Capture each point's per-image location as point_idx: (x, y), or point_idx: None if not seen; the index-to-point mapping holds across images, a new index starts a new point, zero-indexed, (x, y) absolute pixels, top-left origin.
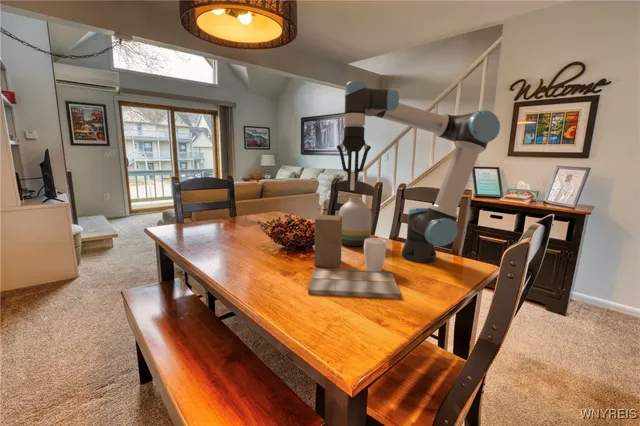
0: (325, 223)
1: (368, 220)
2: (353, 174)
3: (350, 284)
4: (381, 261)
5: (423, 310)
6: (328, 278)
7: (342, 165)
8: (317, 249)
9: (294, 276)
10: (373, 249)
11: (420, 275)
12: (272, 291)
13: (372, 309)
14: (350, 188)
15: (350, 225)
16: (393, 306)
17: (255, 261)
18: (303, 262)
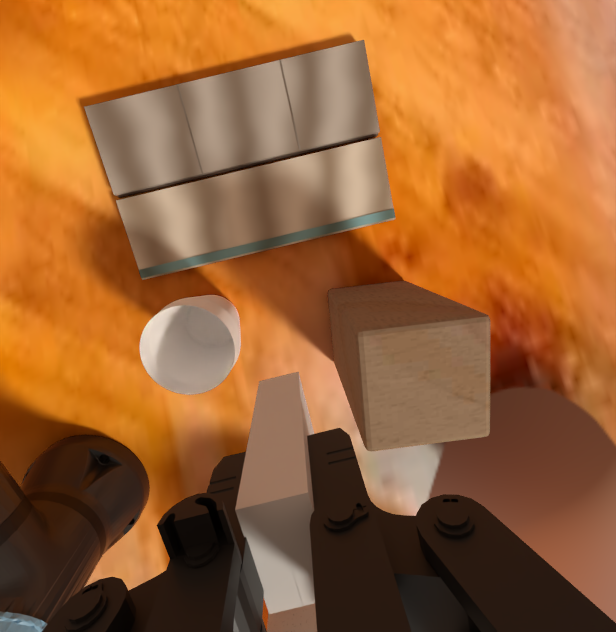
0: (424, 317)
1: (274, 621)
2: (261, 486)
3: (246, 127)
4: (175, 310)
5: (13, 50)
6: (326, 152)
7: (572, 593)
8: (415, 289)
9: (441, 168)
10: (190, 299)
11: (61, 319)
12: (470, 26)
13: (153, 5)
14: (298, 380)
15: None
16: (99, 47)
17: (606, 251)
18: None
